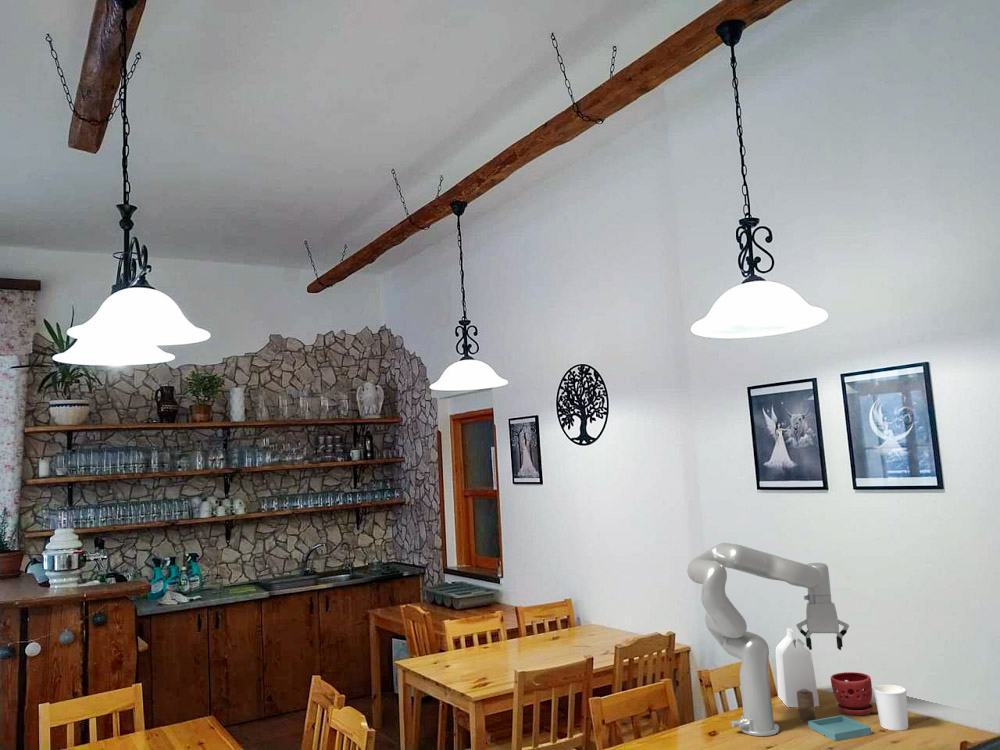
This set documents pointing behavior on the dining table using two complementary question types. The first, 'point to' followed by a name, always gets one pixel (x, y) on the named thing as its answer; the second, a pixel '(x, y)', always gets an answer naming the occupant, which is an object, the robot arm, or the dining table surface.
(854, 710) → the plant pot
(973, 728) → the dining table surface
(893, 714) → the candle holder
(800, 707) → the pepper mill
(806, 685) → the milk
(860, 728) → the tray
